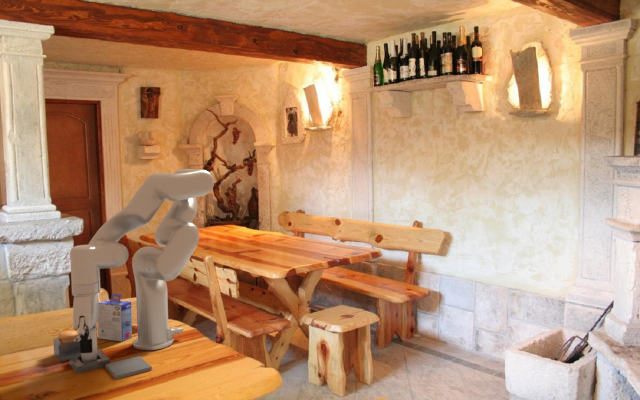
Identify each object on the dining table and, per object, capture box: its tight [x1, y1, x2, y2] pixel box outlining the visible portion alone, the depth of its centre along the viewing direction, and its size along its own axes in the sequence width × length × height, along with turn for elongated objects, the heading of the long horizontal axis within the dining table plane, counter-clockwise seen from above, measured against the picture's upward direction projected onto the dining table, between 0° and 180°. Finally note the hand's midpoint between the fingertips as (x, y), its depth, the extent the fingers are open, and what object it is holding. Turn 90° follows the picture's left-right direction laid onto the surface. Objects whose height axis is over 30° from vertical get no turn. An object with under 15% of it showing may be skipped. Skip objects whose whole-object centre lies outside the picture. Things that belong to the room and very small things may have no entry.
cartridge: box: [81, 327, 98, 363], centre depth 156 cm, size 4×4×9 cm
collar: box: [68, 349, 111, 375], centre depth 157 cm, size 9×9×2 cm
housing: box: [53, 335, 81, 363], centre depth 164 cm, size 7×7×5 cm
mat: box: [104, 355, 153, 380], centre depth 154 cm, size 10×10×1 cm
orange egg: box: [58, 329, 79, 343], centre depth 163 cm, size 5×5×6 cm
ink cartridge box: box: [97, 293, 133, 342], centre depth 178 cm, size 10×6×14 cm, turn 72°
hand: (89, 348), depth 157 cm, fingers closed on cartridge, 4 cm apart
